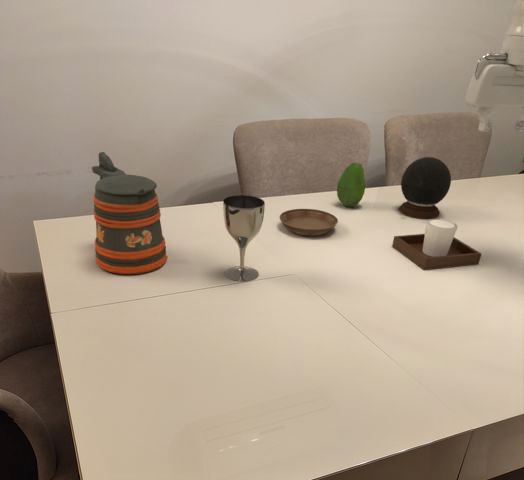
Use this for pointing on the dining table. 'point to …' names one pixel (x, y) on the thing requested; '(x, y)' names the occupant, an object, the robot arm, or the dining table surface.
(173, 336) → the dining table surface
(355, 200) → the avocado
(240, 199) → the wine glass
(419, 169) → the black ball on stand
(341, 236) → the dining table surface
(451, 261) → the tray
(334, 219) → the saucer
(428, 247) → the white cup
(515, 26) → the robot arm
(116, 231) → the beer stein
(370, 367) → the dining table surface
